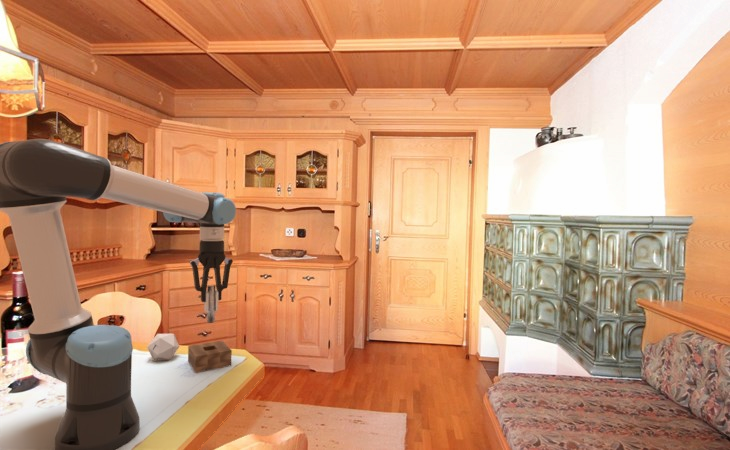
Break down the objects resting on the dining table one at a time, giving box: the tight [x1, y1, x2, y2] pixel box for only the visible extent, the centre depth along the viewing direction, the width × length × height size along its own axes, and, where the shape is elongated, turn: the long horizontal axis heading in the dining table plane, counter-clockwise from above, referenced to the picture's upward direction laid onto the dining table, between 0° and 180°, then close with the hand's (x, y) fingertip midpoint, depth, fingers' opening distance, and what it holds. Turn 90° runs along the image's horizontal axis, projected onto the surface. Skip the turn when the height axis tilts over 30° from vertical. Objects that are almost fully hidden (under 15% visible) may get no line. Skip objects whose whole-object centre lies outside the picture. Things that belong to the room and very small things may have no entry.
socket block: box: [187, 340, 233, 373], centre depth 125 cm, size 11×11×5 cm
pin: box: [206, 284, 216, 324], centre depth 124 cm, size 2×2×12 cm
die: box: [146, 333, 180, 361], centre depth 128 cm, size 8×9×10 cm
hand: (211, 310), depth 125 cm, fingers closed on pin, 2 cm apart
